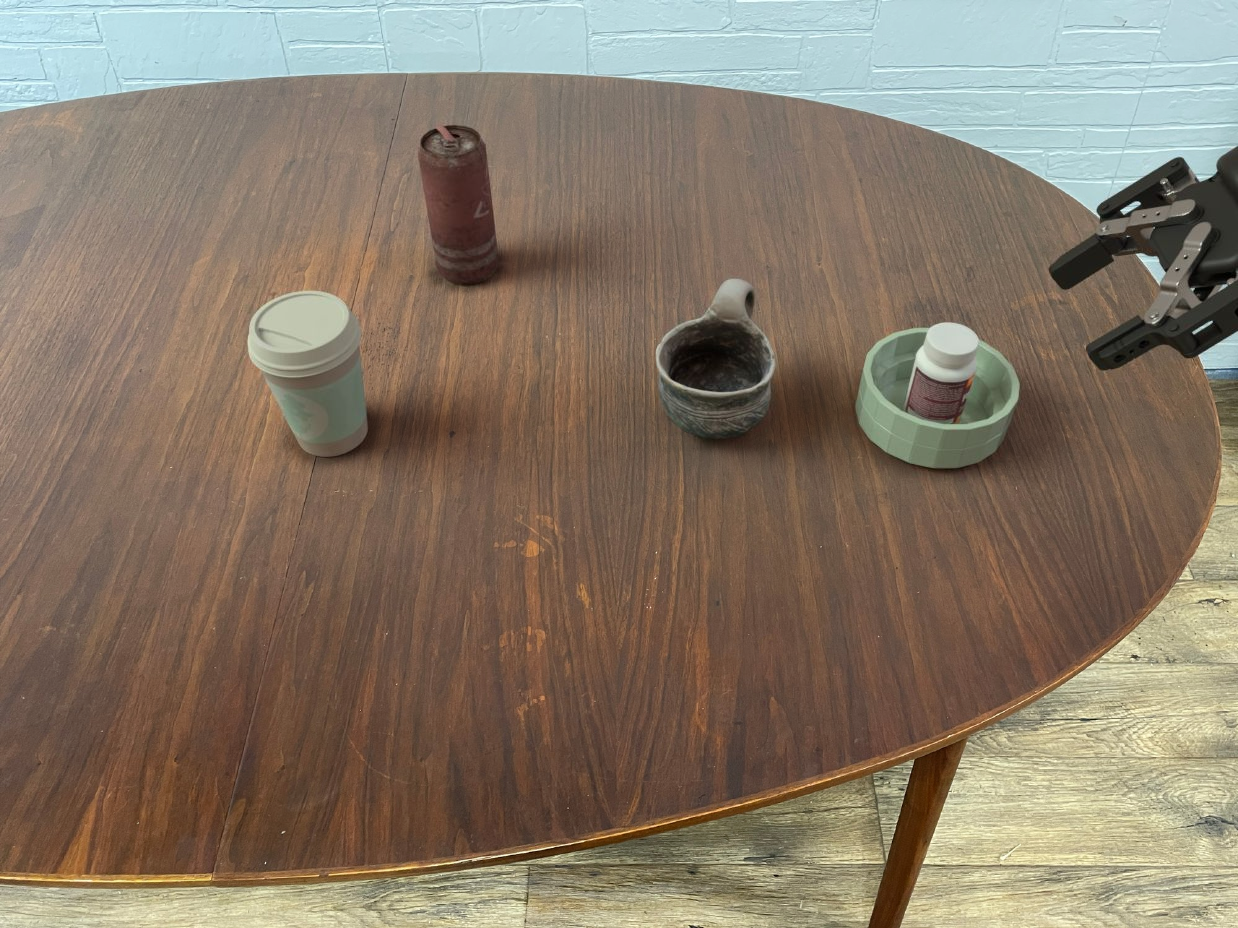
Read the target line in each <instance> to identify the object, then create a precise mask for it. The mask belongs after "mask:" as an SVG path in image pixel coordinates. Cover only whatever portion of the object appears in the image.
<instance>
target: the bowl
mask: <svg viewBox="0 0 1238 928" xmlns="http://www.w3.org/2000/svg"><path fill="white" fill-rule="evenodd" d="M930 328H931V327H912V328H909V329H904V330H900V331H896V332H893V333H891V334H888V335H887V336H885V337H884V338H882V339H880V340H878V341H876V343H875V344H874V345H873V346H872V347H871V349H870V350H869V351H868V352H867V354H866V356H865V360H864V364H863V367H862V373H861V378H860V381H859V387H858V391H857V397H856V400H855V406H854V409H855V412H856V417H857V422H858V424H859V426H860V428H861V429H862V430H863V432H864V434H865V435H866V436H867V437H868V439H869V440H870V441H871V442H872V443H874V444H875V445H876V446H878V447H879V448H880V449H881V450H882V451H883V452H885V453H887V454H889V455H891V456H893V457H895V458H897V459H899V460H901V461H904V462H906V463H907V464H912V465H916V466H921V467H926V468H931V469H959V468H962V467H966V466H970V465H974V464H978V463H980V462H982V461H983V460H985V459H987V458H988V457H990V456H991V455H992V454H994V453H995V452H996V451H997V450H998V448H999V447H1000V446H1001V443H1003V441H1004V439H1005V437H1006V435H1007V432H1008V429H1009V426H1010V424H1011V422H1012V418H1013V415H1014V413H1015V409H1016V407H1017V404H1018V401H1019V397H1020V387H1021V386H1020V385H1021V383H1020V380H1019V378H1018V375H1017V373H1016V370H1015V368H1014V366H1013V365H1012V364H1011V362H1009V360H1008V359H1007V358H1006V357H1005V356H1004V355H1003V354H1002V353H1001V352H1000V351H998V350H997V349H995V348H994V347H992V346H991V345H989V344H988V343H987V342H985V341H983V340H981V339H979V346H978V350H977V354H976V357H975V358H976V361H977V368H976V372H975V375H974V378H973V382H972V385H971V388H970V391H969V394H968V397H967V401H966V403H965V407H964V410H963V413H962V416H961V419H960V422H959V424H941V423H936V422H931V421H927V420H922V419H920V418H917V417H915V416H913V415H911V414H908V413H906V412H904V411H903V405H904V400H905V397H906V393H907V389H908V384H909V381H910V377H911V372H912V369H913V365H914V361H915V356H916V353H917V351H918V350H919V349H920V348H921V347H922V346H923V345H924V341H925V338H926V335H927V332H928V330H929V329H930Z"/></svg>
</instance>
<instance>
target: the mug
mask: <svg viewBox="0 0 1238 928" xmlns="http://www.w3.org/2000/svg"><path fill="white" fill-rule="evenodd" d="M755 305H756V293H755V289H754V287H753V286H752V284H751V283H749V282H748V281H746V280H743V279H741V278H728V279H726V280H724V282H723V283H722V284H721V285H720V286H719V288H718V289H717V291H716V293H715V295H714V297H713V300H712V302H711V304H710V306H709V307H708V309H706V311H705V313H704V314H703V316H701V317H699V318H696V319H691V320H688V321H685V322H682V323H680V324H678V325H676V326H675V327H674V328H672V329H671V330H670V331H668V332H666V334H665V335H664V336H663V337H662V339H661V342H660V343H658V345H657V347H656V349H655V364H656V369H657V373H658V381H657V382H658V396H659V399H660V402H661V405H662V408H663V410H664V411H665V413H666V416H668V418H669V419H670V420H671V421H672V422H673V423H674V424H675V425H676V426H677V427H679V428H680V429H681V430H683V431H684V432H686V433H688V434H690V435H692V436H694V437H698V438H700V439H701V438H702V439H709V440H724V439H731V438H735V437H738V436H742V435H744V434H745V433H747V432H749V431H750V430H751V429H752V428H754V427H755V426H756V425H758V424H759V423H760V422H761V421H762V420H763V418H764V416H765V415H766V414H767V412H768V410H769V407H770V404H771V403H770V401H771V399H772V398H771V397H772V392H771V381H772V378H773V377H774V374H775V372H776V357H775V353H774V350H773V348H772V345H771V342H770V340H769V339H768V337H767V336H766V335H765V333H764V332H763V331H762V330H761V329H760V328H759V327H758V326H757V325H756V324H755V322H753V320H752V319H753V316H754V315H753V314H754V310H755Z"/></svg>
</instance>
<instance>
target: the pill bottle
mask: <svg viewBox="0 0 1238 928" xmlns="http://www.w3.org/2000/svg"><path fill="white" fill-rule="evenodd" d="M929 328H930V329H929V330H928V332H927V335H926V338H925V341H924V345H923V346H922V347H921V348H920V349H919V350H918V351H917V353H916V356H915V361H914V365H913V369H912V372H911V377H910V381H909V384H908V389H907V393H906V397H905V400H904V405H903V411H904V412H906V413H908V414H911V415H913V416H915V417H917V418H920V419H922V420H927V421H931V422H936V423H941V424H959V422H960V419H961V416H962V413H963V410H964V407H965V403H966V401H967V397H968V394H969V391H970V388H971V385H972V382H973V378H974V375H975V372H976V368H977V361H976V358H975V357H976V354H977V350H978V346H979V340H980V339H979V336H978V335H977V334H976V332H975V331H974V330H973V329H971V328H969V327H968V326H966V325H964V324H960V323H957V322H944V321H943V322H939V323H936V324H933V325H932V326H931V327H929Z"/></svg>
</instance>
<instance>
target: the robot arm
mask: <svg viewBox="0 0 1238 928" xmlns="http://www.w3.org/2000/svg"><path fill="white" fill-rule="evenodd" d="M1215 167H1216V170H1217V171H1216V172H1215V173H1214V174H1213V175H1212V176H1210V177H1208V178H1207V179H1204V180H1201V181H1200V180H1199V178H1198V177H1197V175H1196V174H1195V172H1194V171H1193V170H1192V168H1191V167H1190V165H1189V164H1188V162H1187V161H1186V159H1185V158H1184V157H1183V156H1177V157H1174V158H1172V159H1171V160H1168V161H1167V162H1165V163H1164V164H1162V165H1160V166H1158V167H1157V168H1155V169H1154V170H1152V171H1150V172H1149V173H1148V174H1146V175H1144V176H1142V177H1141V178H1140V179H1138V180H1136V181H1134V182H1133V183H1130V185H1128V186H1126V187H1124V188H1123V189H1121V190H1120V191H1117V193H1114V194H1113V195H1112V196H1110V197H1108V198H1107V199H1104V201H1102V202H1101V203H1100V204H1098V205H1097V207H1096V214H1097V215H1098V216H1099V223H1098V225H1097V226H1096V229H1095V233H1094V234H1092V235H1091V236H1089V237H1087V238H1086V239H1085V240H1083V241H1081V242H1080V243H1078V244H1077V245H1075V246H1074V247H1073V248H1070V249H1069V250H1068V251H1066V252H1064V253H1063V254H1061V255H1060V256H1059V257H1058V258H1057V259H1056V260H1055V261H1054V262H1053V263H1052V264H1050V265H1049V267H1048V273H1049V275H1050V277H1051V278H1052V280H1053V281H1054V282H1055V283H1056V284H1057V285H1058V287H1059V288H1060V289H1061V290H1064V291H1068V290H1070V289H1072V288H1074V287H1075V286H1077V285H1078V284H1080V283H1082V282H1083V281H1085V280H1086V279H1088V278H1090V277H1092V276H1093V275H1095V274H1096V273H1098V272H1100V271H1101V270H1102V269H1104V268H1106V267H1107V266H1109V265H1110V264H1112V263H1114V262H1115V259H1114V257H1113V256H1115V257H1122V256H1131V255H1137V254H1142V255H1145V256H1147V257H1157V259H1158V263H1159V265H1160V267H1161V268H1162V270H1163V271H1164V272H1165V274H1164V275H1163V277H1162V278H1161V280H1160V282H1159V292H1158V293H1157V296H1156V297H1155V298H1154V300H1153V301H1152V303H1151V304H1150V306H1149V307H1148V309H1147V311H1146V312H1145V314H1144V316H1143V319H1142V317H1141V316H1140V315H1139V314H1137V315H1135V316H1133V317H1132V318H1130V319H1129V320H1127V321H1125V322H1124V323H1122V324H1120V325H1118V326H1117V327H1115V328H1113V329H1112V330H1110V331H1108V332H1107V333H1105V334H1103V335H1102V336H1099V337H1098V338H1096V339H1094V340H1092V341H1091V342H1089V343H1088V344H1087V345H1086V346H1085V353H1086V354H1087V356H1088V358H1089V360H1090V361H1091V362H1092V363H1093V364H1094V365H1095V367H1097V369H1098V370H1100V371H1108V370H1110V371H1111V370H1116V369H1120V368H1122V367H1123V366H1125V365H1126V364H1128V363H1131V362H1132V361H1134V360H1135V359H1138V358H1139V357H1141V356H1143V355H1144V354H1146V353H1148V352H1150V351H1151V350H1153V349H1155V348H1157V347H1160V346H1168V347H1170V348H1172V349H1174V351H1175V350H1176V352H1178V353H1180V355H1181V356H1182V357H1183V358H1184V359H1189V360H1190V359H1194V358H1196V357H1198V356H1199V355H1201V354H1202V353H1205V352H1206V351H1208V350H1209V349H1211V348H1212V347H1214V346H1216V345H1217V344H1219V343H1221V342H1223V341H1224V340H1226V339H1227V338H1229V337H1231V336H1232V335H1234V334H1235V333H1237V332H1238V145H1236V146H1235V147H1234V148H1232V149H1230V150H1229V151H1227V152H1226V153H1223V154H1222V155H1221V156H1220V157H1218V159H1217V161H1216V164H1215ZM1137 202H1139V205H1138V206H1136V207H1134V208H1133V209H1131V210H1129V211H1127V212H1126V213H1123V212H1122V210H1124V209H1125V208H1127V207H1129V206H1130V205H1132V204H1134V203H1137ZM1223 286H1225V287H1223ZM1222 287H1223V288H1222ZM1221 288H1222V289H1221ZM1192 289H1193V290H1192ZM1210 322H1211V323H1210ZM1208 323H1210V324H1208ZM1207 324H1208V325H1207ZM1204 325H1207V326H1205V327H1203V326H1204ZM1201 327H1203V328H1201ZM1200 328H1201V329H1200ZM1198 329H1200V330H1198ZM1197 330H1198V331H1197ZM1195 331H1197V332H1195Z"/></svg>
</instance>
